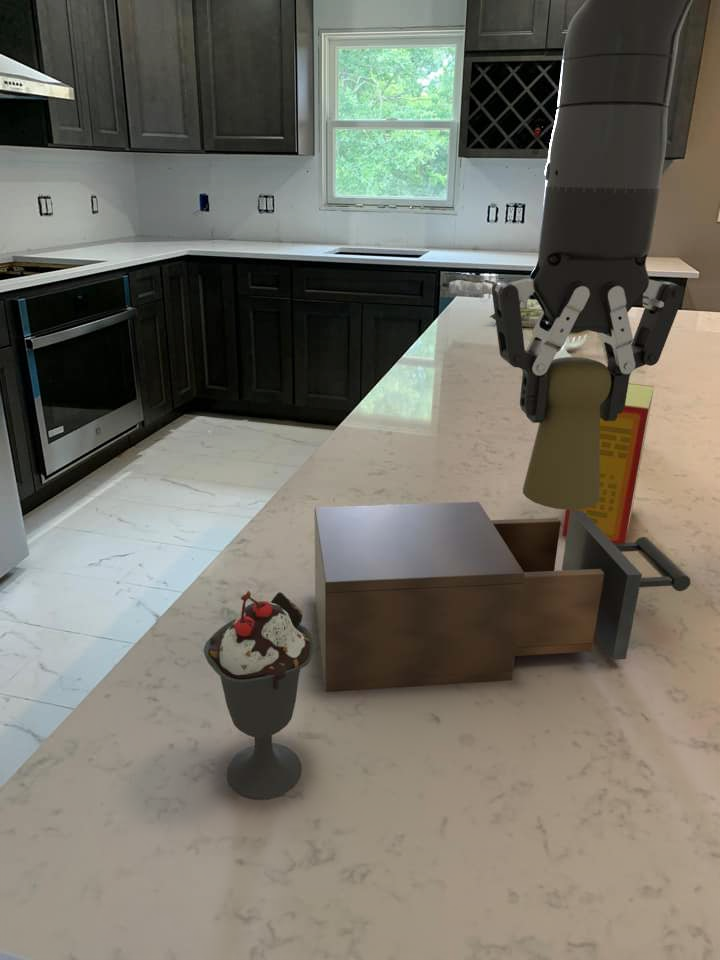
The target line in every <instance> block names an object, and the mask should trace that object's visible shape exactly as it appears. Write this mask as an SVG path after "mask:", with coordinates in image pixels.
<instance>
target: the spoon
mask: <svg viewBox="0 0 720 960" xmlns="http://www.w3.org/2000/svg"><path fill="white" fill-rule="evenodd" d="M587 334H588V333H587ZM587 334H585V335H584V337H582V336H581V335H579V337H578V339H577V337H576V336H574V337H573V339H572V340H570V336H568V337H567V339H566V341H565V343H564V345H563V346H562V347H561V348H560V349H559V351H557V352H556V354H555V356H554V358H553V360H554V359H557V358H564V357H573V356H572V355H571V354H570V353H569V351H571V350H575V349H577V348H580V347H581V346H582V345H584V343H585V342H586V341H587V340H588V339H587V338H588V335H587ZM576 339H577V340H576Z"/></svg>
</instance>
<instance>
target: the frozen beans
mask: <svg viewBox="0 0 720 960" xmlns="http://www.w3.org/2000/svg"><path fill="white" fill-rule="evenodd" d="M541 312H542V308H541V306H540V305H539V303H538V301H537V300H536V299H532V298H531V299H530V298H528V301H527V307H526V308H525V310H523V311H522V312H521V321H522V327H525V328H526V327H527V328H534V327H535V325H536V323H537V321H538V318H539V316H540V314H541ZM489 318H492V319H493V320H495V321H496V319H495V312H494V313H493V314H491V315H490V316H489Z"/></svg>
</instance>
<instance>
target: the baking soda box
mask: <svg viewBox="0 0 720 960" xmlns="http://www.w3.org/2000/svg"><path fill="white" fill-rule="evenodd" d="M654 390H655V386H654V385H647V384H639V383H638V384H637V383H630V382H629V384H628V390H627V394H626V395H627V396H626V402H625V408H624V409H623V411H622V413H621V414H617V419H616V420H615V421H604V420H603V419H602V418H600V500H599V501H598V503H597V504H596V505H594V506H592V507H589V508H585V509H577V510H565V515H564V521H563V529H562V536H563V537H564V536H565V537H567V530H568V522H569V515H570V511H579V510H582V511H583V512H584V513H585V514H586V515H587V516H588V517H589V518H590V519H591V520H592V521H593V522H594V523H595V524H596V526H597V527H598V528H599V529H600V530H601V531H602V532H603V533H604V534H605V535H606V536H607V537H608V538H609V540H610V541H611V542H612V543H626V540H627V536H628V532H629V527H630V523H631V519H632V514H633V508H634V503H635V497H636V493H637V486H638V480H639V474H640V470H641V469H640V468H641V464H642V458H643V451H644V447H645V441H646V435H647V431H648V430H647V429H648V423H649V418H650V412H651V407H652V401H653V396H654Z"/></svg>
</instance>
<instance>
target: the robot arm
mask: <svg viewBox="0 0 720 960" xmlns="http://www.w3.org/2000/svg"><path fill="white" fill-rule="evenodd" d="M692 2H693V0H585V2H584V3H583V4H582V5H581V7H580V8H579V9H578V10H577V12H576V13H575V14H574V15H573V17H572V18H571V20H570V22H569V24H568V26H567V27H568V28H567V30H566V36H565V40H564V44H563V45H564V46H563V52H562V59H561V68H560V69H561V70H560V78H559V89H558V96H557V109H556V114H555V120H554V124H553V129H552V132H551V139H550V142H549V148H548V156H547V163H546V164H545V169H544V178H545V182H544V183H545V184H544V195H543V202H542V203H543V204H542V212H541V213H542V214H541V223H540V231H539V242H538V255H537V256H538V258H537V262H536V265H535V267H534V268H533V269H532V271H531V273H530V275H529V277H527V278H522V279H518V280H513V281H509V282H506V281H505V280H500V279H499V280H496V281H495V282H494V283H493V285H492V286H491V295H492V302H493V311H494V313H495V319H496V320H495V319H494V320H495V326H496V333H497V342H498V349H499V350H498V351H499V355H500V357H501V358H502V359H503V360H504V361H505V362H507V363H508V364H509V365H510V366H512V367H513V368H518V369H521V370H522V377H521V386H520V387H521V389H520V395H519V397H520V398H519V405H520V409H521V411H522V412H523V413H524V414H525V416H526V418H527V419H528V420H529V421H530V422H531V423H533V424H536V423H537V424H539V423H542V422H543V421H544V415H545V407H546V398H547V390H548V382H549V376H548V375H546V374H545V373H546V372H547V370H548V368H549V366H550V364H551V362H552V360H553V358H554V356H555V354H556V353H558V352H559V351H558V350H561V349H560V348H561V347H562V346H563V345H564V343H565V341H566V339H567V337H569V335H570V334H579V333H582V332H586V331H590V332H594V333H596V335H597V337H598V339H599V340H600V342H601V346H602V349H603V353H604V358H605V363H606V366H607V368H608V371H609V373H610V375H611V388H610V392H609V394H608V396H607V398H606V399H605V400H604V401H603V403H602V404H601V405H600V418H602V419H603V420H604V421H615V420H616V419H617V414H621V413H622V411H623V409H624V408H625V402H626V396H627V395H626V394H627V390H628V384H629V383H630V377H631V374H632V373H633V372H634V371H635V370H636V369H638V368H641V367H644V366H650V367H652V366H654V365H656V364H657V363H658V362H659V361H660V358H661V355H662V353H663V351H664V349H665V345H666V342H667V340H668V337H669V335H670V332H671V329H672V327H673V324H674V322H675V319H676V317H677V314H678V311H679V309H680V306H681V303H682V301H683V298H684V295H685V289H684V287H683V286H682V285H679V284H677V283H674V282H672V281H665V280H654V279H650V277H649V273H648V270H647V266H646V264H647V263H646V262H647V257H648V255H649V253H650V250H651V246H652V245H651V244H652V238H653V231H654V226H655V221H656V213H657V207H658V201H659V195H660V189H661V184H662V183H661V182H662V176H663V170H664V165H665V158H666V150H667V141H668V115H669V108H668V107H669V105H670V100H671V99H670V98H671V93H672V87H673V80H674V75H675V69H676V63H677V62H676V61H677V56H678V48H679V38H680V34H681V31H682V27H683V25H684V22H685V20H686V17H687V14H688V12H689V10H690V7H691V5H692ZM531 295H533V296H534V298H535V300H537V301H538V303H539V305H540V306H541V308H542V312H541V314H540V316H539V318H538V321H537V323H536V325H535V327H533V330H532V333H531V335H532V337H531V339H530V341H529V342H528V345H527V347H526V348H525V340H524V331H523V330H524V329H523V326H522V321H521V312H522V311H523V310H525V308H526V307H527V301H528V299H530V296H531ZM641 297H642V307H643V308H644V309H643V311H642V315H641V317H640V320H639V322H638V326H637V329H636V331H635V334H634V336H633V333H632V329H631V323H630V319H629V318H630V317H629V314H628V313H629V312H630V310H631V309H632V308H633V307H634V305H635V304H636V303H637V302H638V301H639V300H640V299H641Z"/></svg>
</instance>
